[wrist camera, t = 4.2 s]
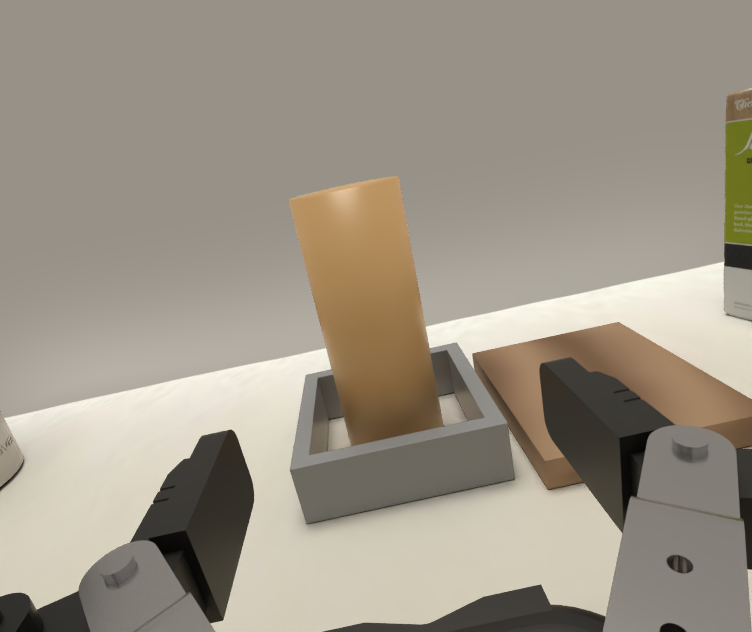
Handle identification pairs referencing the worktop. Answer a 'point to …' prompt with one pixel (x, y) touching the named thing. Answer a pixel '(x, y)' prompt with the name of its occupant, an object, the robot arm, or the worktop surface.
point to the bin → (399, 448)
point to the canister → (369, 307)
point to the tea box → (738, 205)
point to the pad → (617, 359)
